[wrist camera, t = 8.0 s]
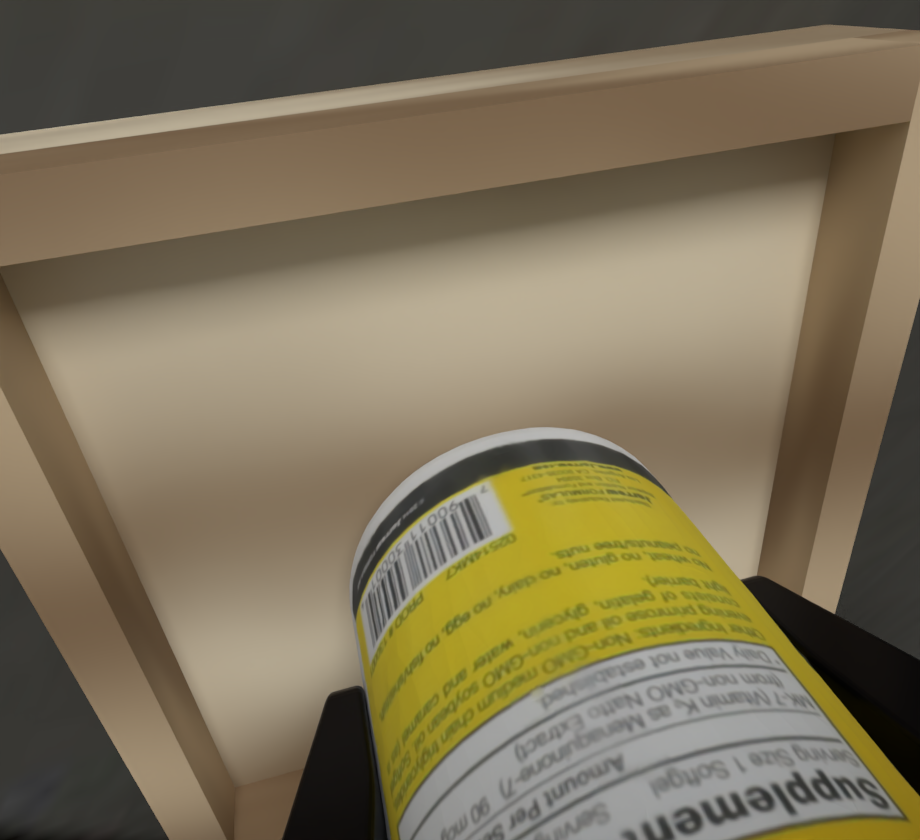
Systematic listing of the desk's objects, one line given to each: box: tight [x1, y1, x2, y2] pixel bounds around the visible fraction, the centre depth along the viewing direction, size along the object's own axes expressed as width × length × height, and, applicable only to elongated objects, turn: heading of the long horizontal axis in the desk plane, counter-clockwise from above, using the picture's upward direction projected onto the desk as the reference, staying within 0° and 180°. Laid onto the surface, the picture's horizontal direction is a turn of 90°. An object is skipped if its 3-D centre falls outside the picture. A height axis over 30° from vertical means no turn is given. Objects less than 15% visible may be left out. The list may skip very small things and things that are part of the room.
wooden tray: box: [0, 25, 920, 840], centre depth 12 cm, size 12×12×3 cm
